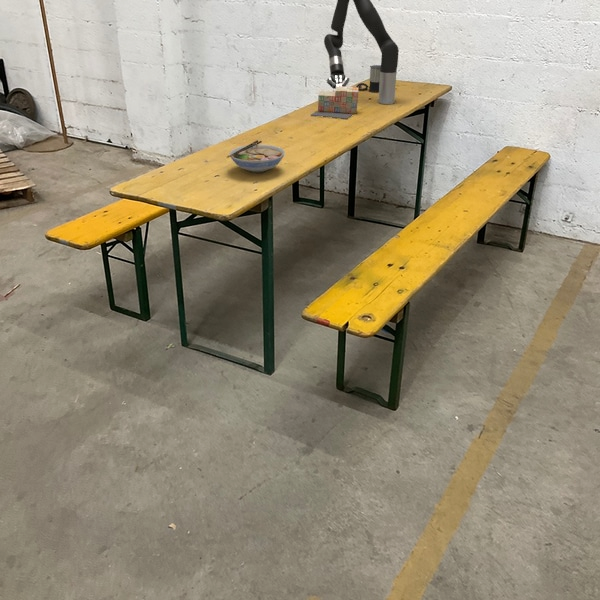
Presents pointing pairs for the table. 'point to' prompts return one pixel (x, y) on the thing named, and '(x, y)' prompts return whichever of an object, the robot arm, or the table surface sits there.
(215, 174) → the table surface
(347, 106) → the stack of blocks
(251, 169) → the ramen bowl
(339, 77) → the robot arm
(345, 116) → the charcoal rubber mat
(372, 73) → the milk frother
